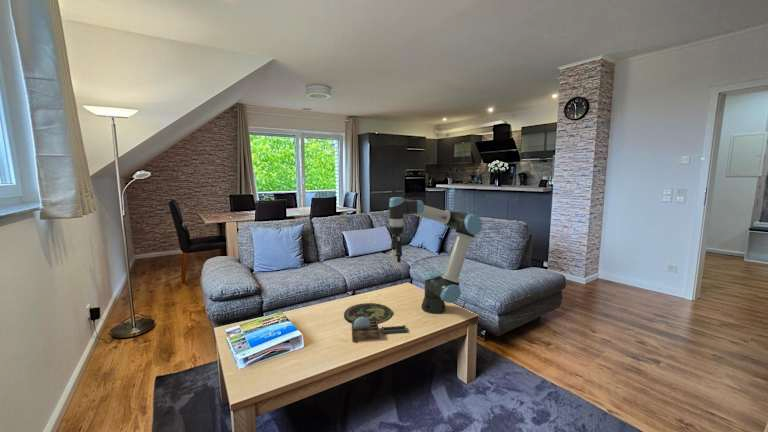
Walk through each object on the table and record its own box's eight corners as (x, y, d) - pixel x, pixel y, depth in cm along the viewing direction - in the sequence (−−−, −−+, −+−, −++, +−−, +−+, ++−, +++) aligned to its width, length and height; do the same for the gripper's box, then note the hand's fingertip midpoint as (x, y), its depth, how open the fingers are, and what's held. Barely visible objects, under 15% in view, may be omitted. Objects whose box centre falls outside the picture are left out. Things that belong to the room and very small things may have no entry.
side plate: (372, 328, 175) (366, 314, 173) (373, 330, 173) (366, 315, 171) (357, 335, 174) (350, 321, 172) (357, 337, 172) (350, 322, 171)
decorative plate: (337, 321, 187) (352, 300, 216) (337, 324, 187) (352, 303, 216) (388, 326, 181) (396, 304, 210) (387, 329, 181) (396, 307, 210)
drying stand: (404, 328, 181) (404, 325, 180) (407, 334, 175) (407, 330, 174) (381, 330, 179) (381, 326, 179) (383, 335, 173) (383, 331, 173)
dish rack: (376, 329, 180) (376, 320, 180) (379, 339, 169) (379, 330, 168) (351, 330, 179) (351, 322, 178) (352, 341, 167) (352, 332, 166)
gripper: (386, 222, 186) (386, 258, 189) (393, 230, 161) (393, 271, 164) (399, 222, 187) (399, 258, 190) (408, 229, 162) (407, 270, 165)
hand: (396, 264), depth 177 cm, fingers open, 13 cm apart
